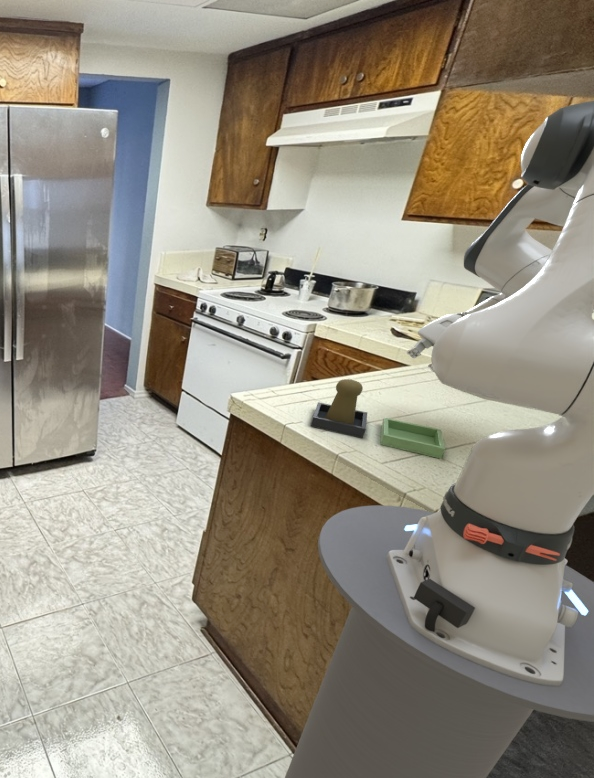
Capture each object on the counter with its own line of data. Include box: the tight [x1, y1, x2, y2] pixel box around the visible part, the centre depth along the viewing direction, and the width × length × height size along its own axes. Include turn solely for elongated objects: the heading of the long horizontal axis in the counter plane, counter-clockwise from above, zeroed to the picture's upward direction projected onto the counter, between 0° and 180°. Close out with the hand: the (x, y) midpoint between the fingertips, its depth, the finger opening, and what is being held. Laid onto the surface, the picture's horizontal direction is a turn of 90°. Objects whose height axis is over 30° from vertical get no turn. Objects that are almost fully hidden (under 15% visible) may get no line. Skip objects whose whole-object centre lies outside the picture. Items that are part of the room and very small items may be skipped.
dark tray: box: [310, 402, 368, 439], centre depth 116 cm, size 11×11×2 cm
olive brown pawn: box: [325, 378, 364, 425], centre depth 114 cm, size 6×6×11 cm
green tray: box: [380, 417, 446, 459], centre depth 108 cm, size 11×11×2 cm
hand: (419, 362), depth 106 cm, fingers open, 8 cm apart
